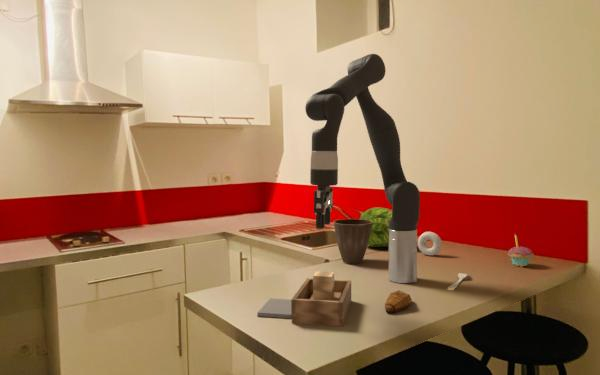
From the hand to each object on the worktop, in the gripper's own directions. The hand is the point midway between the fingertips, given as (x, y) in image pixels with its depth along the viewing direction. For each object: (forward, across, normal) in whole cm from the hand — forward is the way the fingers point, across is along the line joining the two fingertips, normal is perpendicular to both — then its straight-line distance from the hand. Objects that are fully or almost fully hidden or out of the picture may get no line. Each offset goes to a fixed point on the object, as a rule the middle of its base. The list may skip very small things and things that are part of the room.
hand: (323, 226), depth 127 cm
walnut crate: (+23, -4, -1) cm, 23 cm away
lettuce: (+22, +83, -11) cm, 87 cm away
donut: (+21, +71, -30) cm, 80 cm away
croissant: (+22, +4, -21) cm, 31 cm away
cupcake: (+21, +60, -63) cm, 89 cm away
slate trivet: (+23, -5, +11) cm, 26 cm away
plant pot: (+22, +54, -1) cm, 58 cm away
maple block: (+20, -3, -1) cm, 20 cm away
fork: (+22, +32, -39) cm, 55 cm away
